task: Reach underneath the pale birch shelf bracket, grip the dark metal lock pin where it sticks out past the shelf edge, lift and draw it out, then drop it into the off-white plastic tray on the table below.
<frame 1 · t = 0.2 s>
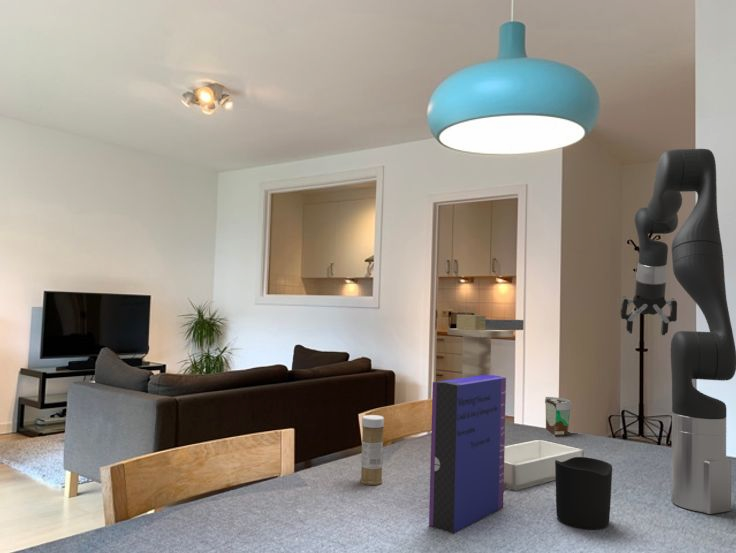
hand: (646, 333, 171), 31 cm above the table, tool tilted 20°, fingers open, 8 cm apart
bracket: (470, 488, 121), on the table
purple book: (467, 517, 105), on the table
food container: (560, 434, 178), on the table
tray: (528, 474, 133), on the table
sprinkles bottle: (371, 483, 123), on the table
pen holder: (582, 522, 105), on the table
lock pin: (496, 329, 127), point 32 cm above the table, touching bracket
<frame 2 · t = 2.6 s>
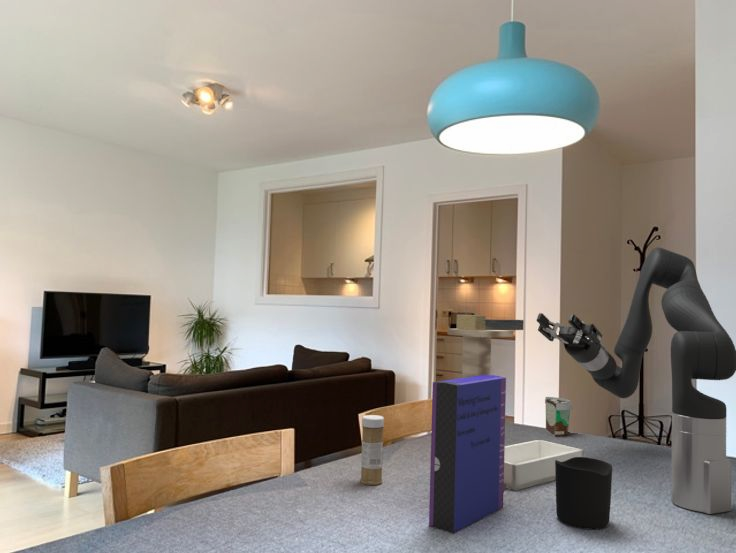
hand: (554, 317, 140), 35 cm above the table, tool pointing upward, fingers open, 8 cm apart
nothing on the table moved.
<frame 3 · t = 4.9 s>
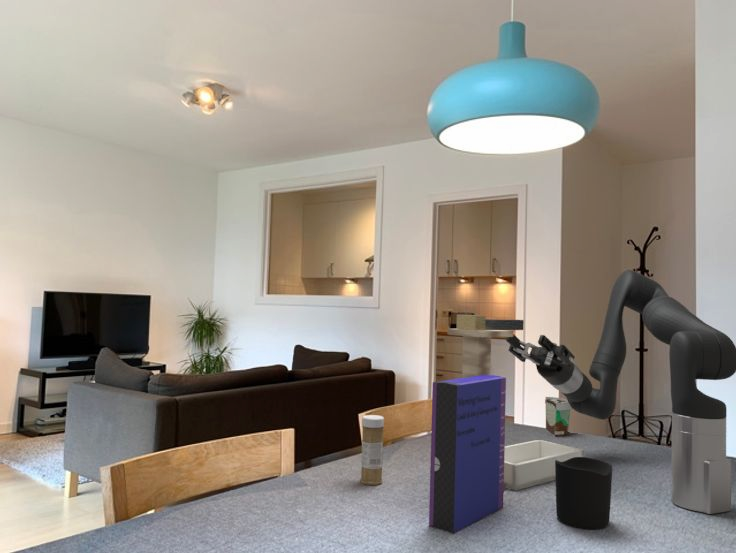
hand: (524, 337, 133), 30 cm above the table, tool pointing upward, fingers open, 8 cm apart
nothing on the table moved.
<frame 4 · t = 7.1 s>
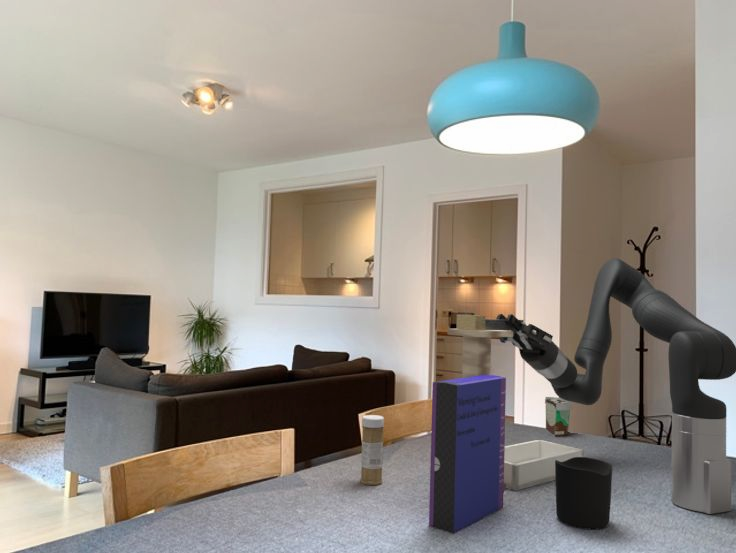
hand: (503, 317, 129), 35 cm above the table, tool pointing upward, fingers closed on lock pin, 2 cm apart
lock pin: (496, 329, 127), point 32 cm above the table, touching bracket, gripper
everything else where it was.
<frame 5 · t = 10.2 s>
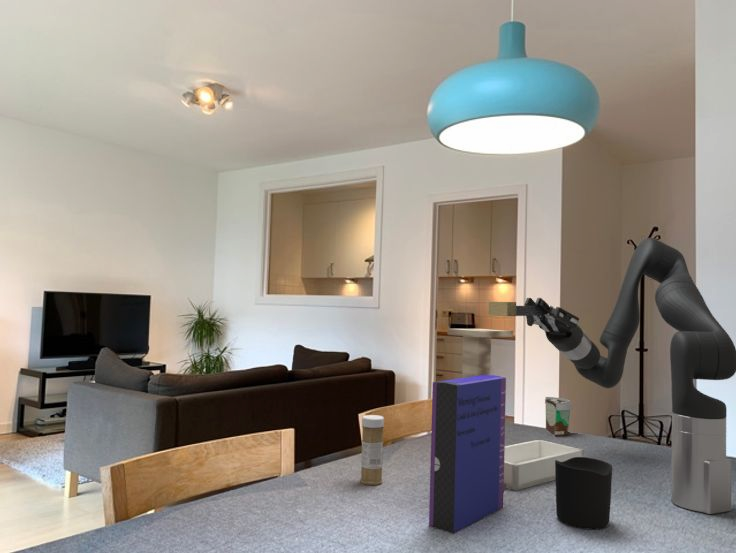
hand: (532, 301, 135), 38 cm above the table, tool pointing upward, fingers closed on lock pin
lock pin: (525, 315, 133), point 35 cm above the table, touching gripper
everything else where it was.
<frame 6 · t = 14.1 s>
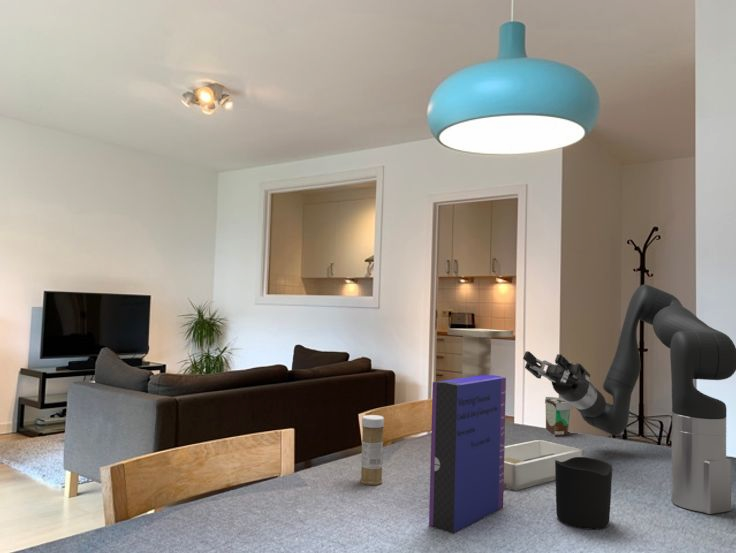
hand: (541, 356, 137), 26 cm above the table, tool pointing upward, fingers open, 8 cm apart
lock pin: (536, 469, 134), point 1 cm above the table, touching tray
everything else where it was.
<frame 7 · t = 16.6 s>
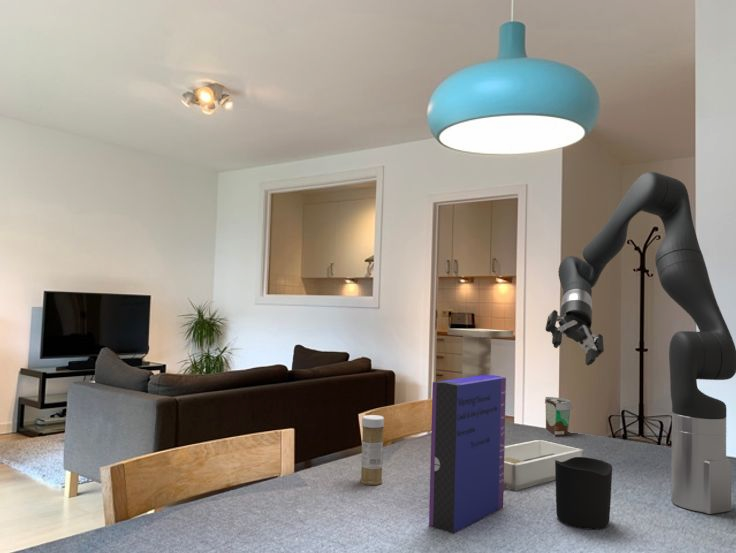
hand: (573, 354, 139), 26 cm above the table, tool tilted 50°, fingers open, 8 cm apart
nothing on the table moved.
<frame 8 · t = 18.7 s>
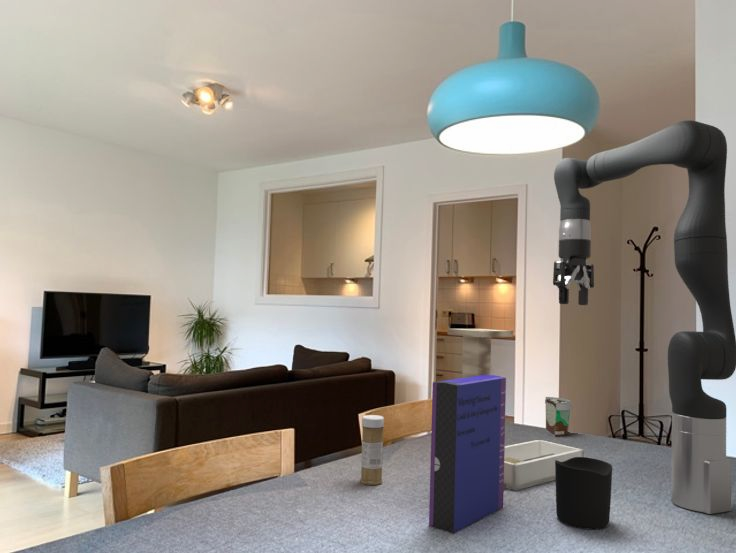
hand: (573, 304, 148), 38 cm above the table, tool pointing down, fingers open, 8 cm apart
nothing on the table moved.
at the end: lock pin inside the target area on the tray (2.1 cm from its centre), point 1.0 cm above the tray's base; the gripper is holding nothing; lock pin moved 34.1 cm from its start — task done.
